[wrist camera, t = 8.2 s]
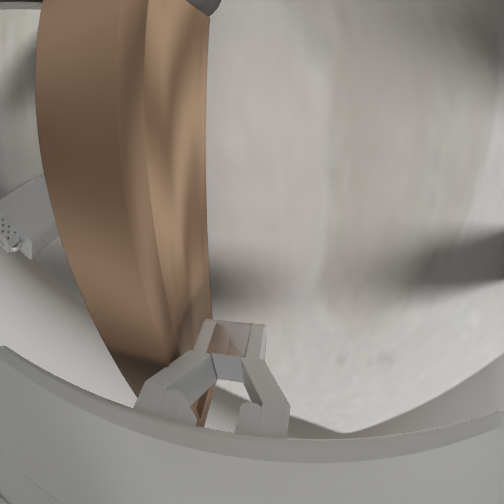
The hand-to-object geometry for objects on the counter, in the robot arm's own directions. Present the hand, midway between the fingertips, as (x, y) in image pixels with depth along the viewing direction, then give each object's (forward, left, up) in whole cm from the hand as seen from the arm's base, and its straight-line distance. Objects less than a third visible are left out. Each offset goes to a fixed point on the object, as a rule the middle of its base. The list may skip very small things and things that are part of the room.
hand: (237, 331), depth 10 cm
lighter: (-15, -3, -5) cm, 16 cm away
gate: (-4, +1, -4) cm, 6 cm away
